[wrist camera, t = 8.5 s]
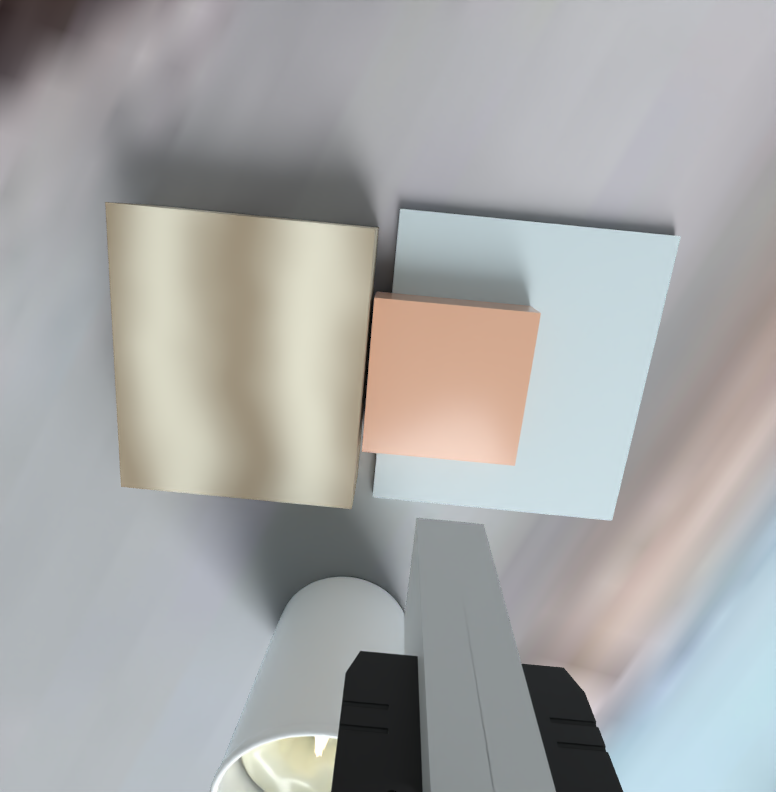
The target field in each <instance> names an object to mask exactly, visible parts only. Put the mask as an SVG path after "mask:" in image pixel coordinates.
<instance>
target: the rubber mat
mask: <svg viewBox="0 0 776 792" xmlns="http://www.w3.org/2000/svg"><path fill="white" fill-rule="evenodd" d="M680 237H681V236H672V235H662V234H652V233H642V232H632V231H622V230H611V229H601V228H591V227H581V226H571V225H561V224H551V223H540V222H530V221H520V220H510V219H500V218H490V217H479V216H469V215H459V214H449V213H439V212H429V211H419V210H408V209H400V215H399V226H398V236H397V247H396V257H395V268H394V278H393V289H392V293H398V294H409V295H420V296H431V297H442V298H453V299H463V300H474V301H485V302H496V303H507V304H518V305H528V306H531V307H533V308H534V309H536V310H537V311H539V312H540V313H541V316H540V322H539V328H538V334H537V340H536V345H535V351H534V357H533V363H532V369H531V375H530V381H529V386H528V392H527V398H526V404H525V410H524V416H523V422H522V427H521V433H520V439H519V445H518V451H517V457H516V463H515V466H511V465H501V464H490V463H479V462H468V461H457V460H446V459H435V458H425V457H414V456H403V455H392V454H381V453H377V457H376V467H375V478H374V488H373V497H375V498H385V499H395V500H406V501H416V502H426V503H436V504H447V505H457V506H467V507H478V508H488V509H498V510H508V511H519V512H529V513H539V514H550V515H560V516H570V517H580V518H591V519H601V520H611V521H612V518H613V514H614V510H615V506H616V502H617V498H618V493H619V489H620V485H621V481H622V477H623V473H624V469H625V465H626V460H627V456H628V452H629V448H630V444H631V440H632V436H633V432H634V427H635V423H636V419H637V415H638V411H639V407H640V403H641V398H642V394H643V390H644V386H645V382H646V378H647V374H648V370H649V365H650V361H651V357H652V353H653V349H654V345H655V341H656V337H657V332H658V328H659V324H660V320H661V316H662V312H663V308H664V303H665V299H666V295H667V291H668V287H669V283H670V279H671V275H672V270H673V266H674V262H675V258H676V254H677V250H678V246H679V242H680Z"/></svg>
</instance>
